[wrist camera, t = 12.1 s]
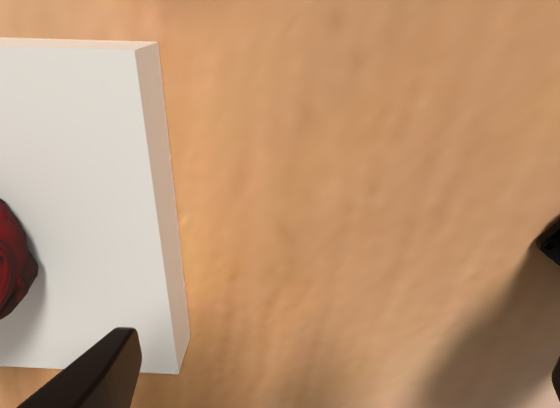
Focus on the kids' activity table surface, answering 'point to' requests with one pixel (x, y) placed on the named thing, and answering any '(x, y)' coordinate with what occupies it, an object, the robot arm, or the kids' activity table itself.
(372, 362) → the kids' activity table surface
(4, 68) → the shelf board
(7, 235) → the red bumpy oval lump
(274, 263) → the kids' activity table surface
